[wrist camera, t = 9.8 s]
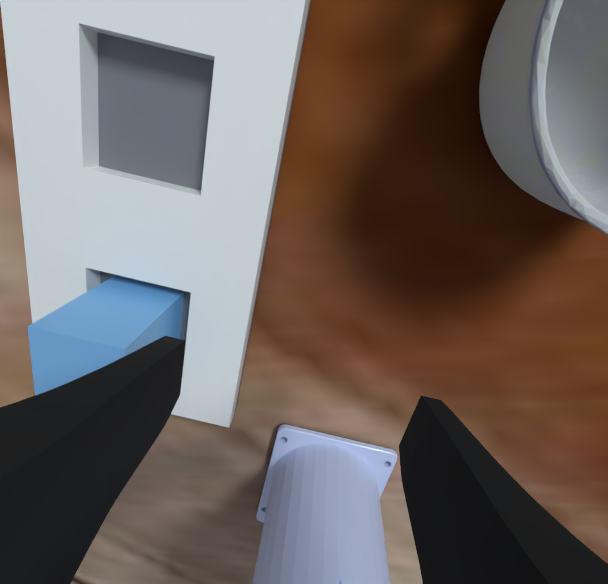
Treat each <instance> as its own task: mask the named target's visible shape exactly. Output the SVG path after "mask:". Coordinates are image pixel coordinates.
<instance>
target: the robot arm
mask: <svg viewBox="0 0 608 584" xmlns="http://www.w3.org/2000/svg"><path fill="white" fill-rule="evenodd" d="M185 341H186V340H182V339H178V338H173V337H169V336H164V337H162V338H160V339H158V340H156V341H154V342H152V343H150V344H148V345H146V346H144V347H142V348H140V349H138V350H136V351H134V352H132V353H130V354H128V355H126V356H124V357H122V358H120V359H118V360H116V361H114V362H112V363H110V364H108V365H106V366H104V367H102V368H100V369H98V370H95V371H93V372H91V373H89V374H86V375H84V376H82V377H80V378H77V379H75V380H73V381H71V382H69V383H66V384H64V385H61V386H59V387H57V388H54V389H51V390H49V391H46V392H44V393H41V394H38V395H36V396H33V397H30V398H27V399H25V400H22V401H19V402H16V403H13V404H10V405H7V406H4V407H1V408H0V584H70V583H71V581H72V579H73V577H74V575H75V573H76V571H77V570H78V568H79V566H80V564H81V562H82V560H83V558H84V556H85V554H86V552H87V550H88V549H89V547H90V545H91V543H92V541H93V539H94V538H95V536H96V534H97V532H98V530H99V528H100V527H101V525H102V523H103V521H104V519H105V517H106V516H107V514H108V512H109V510H110V509H111V507H112V505H113V504H114V502H115V500H116V499H117V497H118V496H119V494H120V493H121V491H122V490H123V488H124V486H125V485H126V483H127V482H128V480H129V479H130V477H131V476H132V474H133V473H134V471H135V470H136V468H137V467H138V465H139V464H140V462H141V461H142V459H143V458H144V456H145V455H146V453H147V452H148V450H149V449H150V447H151V446H152V444H153V443H154V441H155V440H156V438H157V437H158V435H159V434H160V432H161V430H162V429H163V427H164V426H165V424H166V422H167V420H168V418H169V416H170V414H171V412H172V410H173V408H174V406H175V404H176V402H177V400H178V398H179V396H180V392H181V382H182V371H183V361H184V351H185ZM282 437H285V438H282ZM399 452H400V466H401V476H402V483H403V488H404V493H405V498H406V503H407V508H408V512H409V517H410V522H411V526H412V531H413V536H414V540H415V545H416V550H417V554H418V559H419V564H420V569H421V575H422V580H423V584H608V564H607V563H606V562H605V561H603V560H602V559H601V558H600V557H598V556H597V555H596V554H595V553H594V552H592V551H591V550H590V549H589V548H588V547H586V546H585V545H584V544H583V543H582V542H581V541H579V540H578V539H577V538H576V537H575V536H574V535H572V534H571V533H570V532H569V531H568V530H567V529H566V528H565V527H564V526H562V525H561V524H560V523H559V522H558V521H557V520H556V519H555V518H554V517H553V516H551V515H550V514H549V513H548V512H547V511H546V510H545V509H544V508H543V507H542V506H541V505H540V504H538V503H537V502H536V501H535V500H534V499H533V498H532V497H531V496H530V495H529V494H528V493H527V492H526V491H525V490H524V489H523V488H522V487H521V486H520V485H519V484H518V483H517V482H516V481H515V480H514V479H513V478H512V477H511V476H510V475H509V474H508V473H507V471H506V470H505V469H504V468H503V467H502V466H501V465H500V464H499V463H498V462H497V461H496V460H495V459H494V458H493V457H492V456H491V454H490V453H489V452H488V451H487V450H486V449H485V448H484V447H483V446H482V444H481V443H480V442H479V441H478V440H477V439H476V438H475V437H474V436H473V434H472V433H471V432H470V431H469V430H468V429H467V428H466V427H465V425H464V424H463V423H462V422H461V421H460V420H459V419H458V418H457V416H456V415H455V414H454V413H453V412H452V411H451V410H450V409H449V408H448V407H447V406H446V405H445V404H444V403H443V402H442V401H441V400H438V399H433V398H429V397H425V396H421V397H420V399H419V402H418V404H417V406H416V408H415V411H414V413H413V415H412V417H411V420H410V422H409V424H408V427H407V429H406V431H405V433H404V436H403V438H402V440H401V442H400V445H399ZM386 461H389V462H386ZM396 461H397V454H396V452H395V451H394V450H392V449H389V448H384V447H380V446H376V445H372V444H367V443H363V442H359V441H355V440H350V439H346V438H342V437H338V436H333V435H329V434H325V433H320V432H316V431H312V430H308V429H303V428H299V427H295V426H291V425H285V424H284V425H281V426H279V428H278V432H277V436H276V439H275V443H274V447H273V451H272V455H271V459H270V463H269V467H268V471H267V475H266V479H265V483H264V487H263V491H262V495H261V499H260V503H259V507H258V511H257V515H256V518H257V520H258V521H259V522H262V523H264V525H263V530H262V535H261V540H260V546H259V551H258V556H257V561H256V567H255V572H254V577H253V582H252V584H390V578H389V570H388V562H387V554H386V546H385V538H384V530H383V522H382V514H381V506H380V497H381V494H382V492H383V490H384V488H385V485H386V483H387V481H388V479H389V477H390V474H391V472H392V470H393V468H394V466H395V463H396Z"/></svg>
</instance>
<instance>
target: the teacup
mask: <svg viewBox="0 0 608 584" xmlns="http://www.w3.org/2000/svg"><path fill="white" fill-rule="evenodd" d="M479 105H480V117H481V123H482V127H483V132H484V136H485V138H486V141H487V144H488V146H489V148H490V150H491V153H492V155H493V156H494V158H495V159H496V161H497V163H498V164H499V166H500V167H501V169H502V170H503V171H504V172H505V173H506V175H507V176H508V177H509V178H510V179H511V180H512V181H513V182H514V183H516V184H517V185H518V186H519V187H520V188H521V189H522V190H524V191H526V192H527V193H529V194H530V195H532V196H533V197H535V198H536V199H538V200H540V201H541V202H543V203H545V204H547V205H549V206H551V207H553V208H556V209H558V210H560V211H562V212H565V213H567V214H569V215H571V216H574V217H576V218H579V219H581V220H584V221H586V222H587V223H588V224H590V225H591V226H593V227H594V228H596V229H597V230H599V231H600V232H602V233H605V234H607V235H608V0H506V1H505V3H504V5H503V7H502V9H501V11H500V13H499V15H498V18H497V20H496V22H495V25H494V27H493V30H492V33H491V36H490V39H489V42H488V45H487V48H486V51H485V55H484V59H483V64H482V70H481V77H480V86H479Z"/></svg>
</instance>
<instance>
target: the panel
mask: <svg viewBox="0 0 608 584" xmlns="http://www.w3.org/2000/svg"><path fill="white" fill-rule="evenodd" d="M0 3H1V13H2V23H3V33H4V43H5V53H6V63H7V73H8V83H9V93H10V103H11V113H12V123H13V133H14V143H15V153H16V163H17V173H18V183H19V193H20V203H21V213H22V223H23V233H24V243H25V253H26V263H27V273H28V283H29V293H30V303H31V313H32V323H34V322H36V321H38V320H40V319H41V318H43V317H45V316H46V315H48V314H50V313H52V312H53V311H55V310H57V309H58V308H60V307H62V306H64V305H65V304H67V303H69V302H70V301H72V300H74V299H76V298H77V297H79V296H81V295H82V294H84V293H86V292H88V291H89V290H91V289H93V288H94V287H96V286H98V285H100V284H101V283H103V282H105V281H106V280H108V279H110V278H112V277H113V276H118V277H122V278H126V279H130V280H134V281H139V282H143V283H147V284H151V285H156V286H160V287H164V288H168V289H173V290H177V291H181V292H184V300H183V311H182V322H181V333H180V339H182V340H186V341H185V351H184V361H183V371H182V382H181V392H180V396H179V398H178V400H177V402H176V404H175V406H174V408H173V410H172V412H171V414H173V415H177V416H181V417H186V418H190V419H194V420H198V421H203V422H207V423H211V424H216V425H220V426H224V427H228V428H229V427H230V424H231V421H232V419H233V416H234V413H235V411H236V406H237V401H238V396H239V390H240V385H241V379H242V374H243V368H244V363H245V358H246V352H247V347H248V341H249V336H250V330H251V325H252V320H253V314H254V309H255V303H256V298H257V292H258V287H259V281H260V276H261V271H262V265H263V260H264V254H265V249H266V243H267V238H268V233H269V227H270V222H271V216H272V211H273V205H274V200H275V195H276V189H277V184H278V178H279V173H280V167H281V162H282V157H283V151H284V146H285V140H286V135H287V129H288V124H289V118H290V113H291V108H292V102H293V97H294V91H295V86H296V80H297V75H298V70H299V64H300V59H301V53H302V48H303V42H304V37H305V32H306V26H307V21H308V15H309V10H310V4H311V2H310V0H0Z"/></svg>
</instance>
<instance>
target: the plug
mask: <svg viewBox="0 0 608 584" xmlns="http://www.w3.org/2000/svg"><path fill="white" fill-rule="evenodd" d="M183 300H184V292H181V291H177V290H173V289H168V288H164V287H160V286H156V285H151V284H147V283H143V282H139V281H134V280H130V279H126V278H122V277H118V276H113V277H112V278H110V279H108V280H106V281H105V282H103V283H101V284H100V285H98V286H96V287H94V288H93V289H91V290H89V291H88V292H86V293H84V294H82V295H81V296H79V297H77V298H76V299H74V300H72V301H70V302H69V303H67V304H65V305H64V306H62V307H60V308H58V309H57V310H55V311H53V312H52V313H50V314H48V315H46V316H45V317H43V318H41V319H40V320H38V321H36V322H34V323H33V324H31V325H29V326H28V334H29V343H30V352H31V361H32V371H33V380H34V389H35V396H36V395H38V394H41V393H44V392H46V391H49V390H51V389H54V388H57V387H59V386H61V385H64V384H66V383H69V382H71V381H73V380H75V379H77V378H80V377H82V376H84V375H86V374H89V373H91V372H93V371H95V370H98V369H100V368H102V367H104V366H106V365H108V364H110V363H112V362H114V361H116V360H118V359H120V358H122V357H124V356H126V355H128V354H130V353H132V352H134V351H136V350H138V349H140V348H142V347H144V346H146V345H148V344H150V343H152V342H154V341H156V340H158V339H160V338H162V337H164V336H169V337H173V338H178V339H180V333H181V322H182V311H183Z"/></svg>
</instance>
